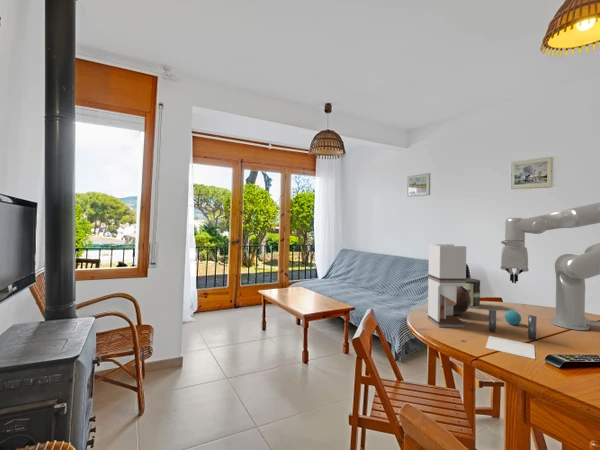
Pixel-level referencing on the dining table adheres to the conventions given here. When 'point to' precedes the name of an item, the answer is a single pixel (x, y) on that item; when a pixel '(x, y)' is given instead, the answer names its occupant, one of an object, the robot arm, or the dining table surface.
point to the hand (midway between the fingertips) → (513, 282)
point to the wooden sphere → (461, 301)
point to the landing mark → (511, 347)
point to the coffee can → (473, 291)
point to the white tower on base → (445, 282)
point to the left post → (492, 320)
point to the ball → (513, 317)
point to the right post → (532, 327)
